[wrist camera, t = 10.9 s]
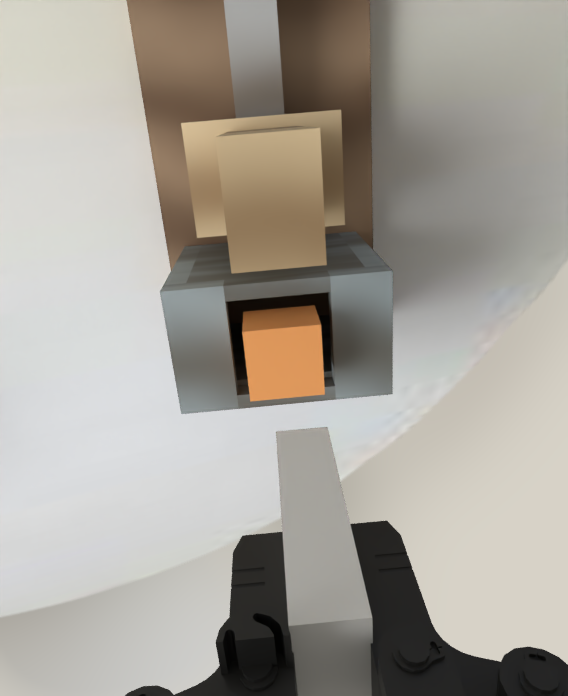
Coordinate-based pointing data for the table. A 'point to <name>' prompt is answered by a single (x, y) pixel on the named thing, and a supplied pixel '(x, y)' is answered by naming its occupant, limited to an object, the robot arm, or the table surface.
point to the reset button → (283, 353)
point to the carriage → (267, 186)
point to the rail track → (212, 252)
